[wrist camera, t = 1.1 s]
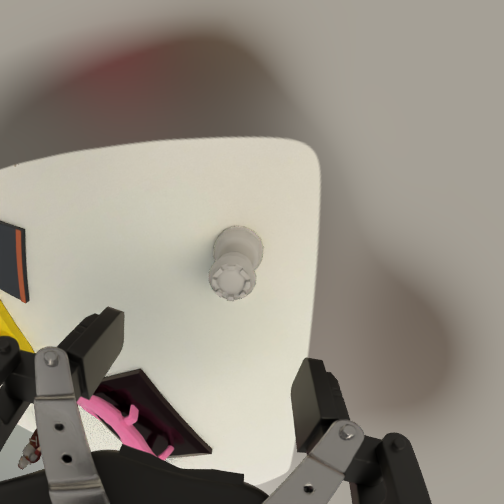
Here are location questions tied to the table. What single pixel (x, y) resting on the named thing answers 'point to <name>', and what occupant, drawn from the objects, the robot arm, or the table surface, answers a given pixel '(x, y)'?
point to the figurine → (31, 451)
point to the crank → (12, 329)
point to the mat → (13, 261)
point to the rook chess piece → (235, 263)
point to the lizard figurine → (142, 417)
